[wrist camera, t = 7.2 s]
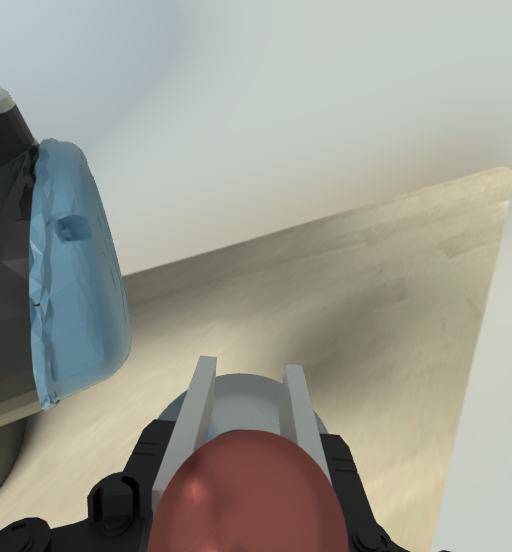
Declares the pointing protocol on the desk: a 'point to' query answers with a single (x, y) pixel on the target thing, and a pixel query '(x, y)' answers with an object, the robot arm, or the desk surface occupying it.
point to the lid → (247, 482)
